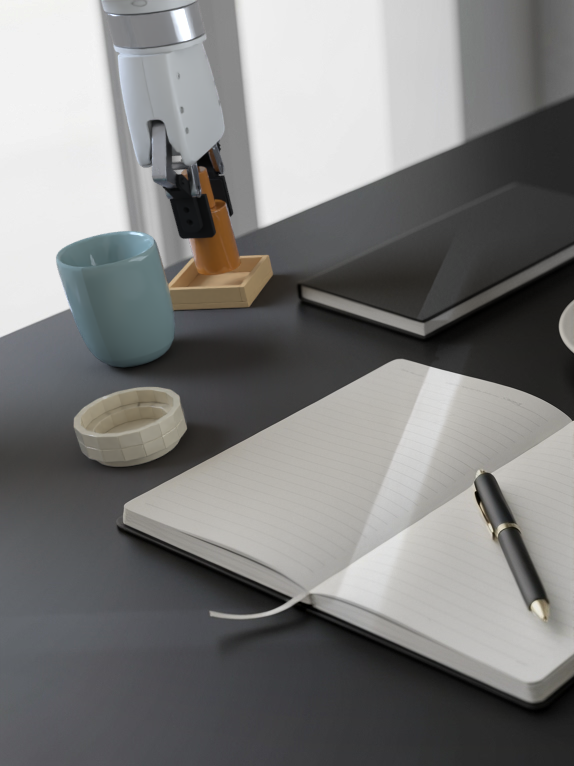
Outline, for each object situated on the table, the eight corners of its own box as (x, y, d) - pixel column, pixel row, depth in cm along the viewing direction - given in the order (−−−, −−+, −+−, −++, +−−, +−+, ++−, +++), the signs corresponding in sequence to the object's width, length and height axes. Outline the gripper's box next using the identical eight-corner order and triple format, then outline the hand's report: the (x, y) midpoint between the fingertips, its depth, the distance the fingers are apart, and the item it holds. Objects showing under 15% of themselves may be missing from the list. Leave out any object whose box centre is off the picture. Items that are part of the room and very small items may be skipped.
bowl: (67, 473, 93) (55, 438, 91) (109, 422, 99) (99, 388, 98) (168, 469, 93) (157, 434, 91) (203, 418, 99) (194, 384, 98)
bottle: (190, 276, 118) (163, 179, 113) (205, 259, 121) (179, 164, 117) (233, 274, 118) (207, 176, 113) (247, 257, 121) (222, 161, 117)
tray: (168, 310, 117) (162, 289, 116) (197, 277, 124) (191, 257, 123) (249, 307, 117) (244, 286, 116) (273, 274, 124) (269, 254, 123)
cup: (104, 387, 104) (70, 275, 100) (76, 356, 110) (42, 248, 105) (198, 356, 109) (169, 248, 104) (167, 328, 114) (138, 223, 109)
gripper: (151, 7, 116) (199, 196, 125) (70, 54, 101) (131, 265, 110) (232, 3, 116) (274, 193, 125) (163, 49, 101) (217, 261, 110)
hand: (207, 225), depth 117 cm, fingers closed on bottle, 4 cm apart
